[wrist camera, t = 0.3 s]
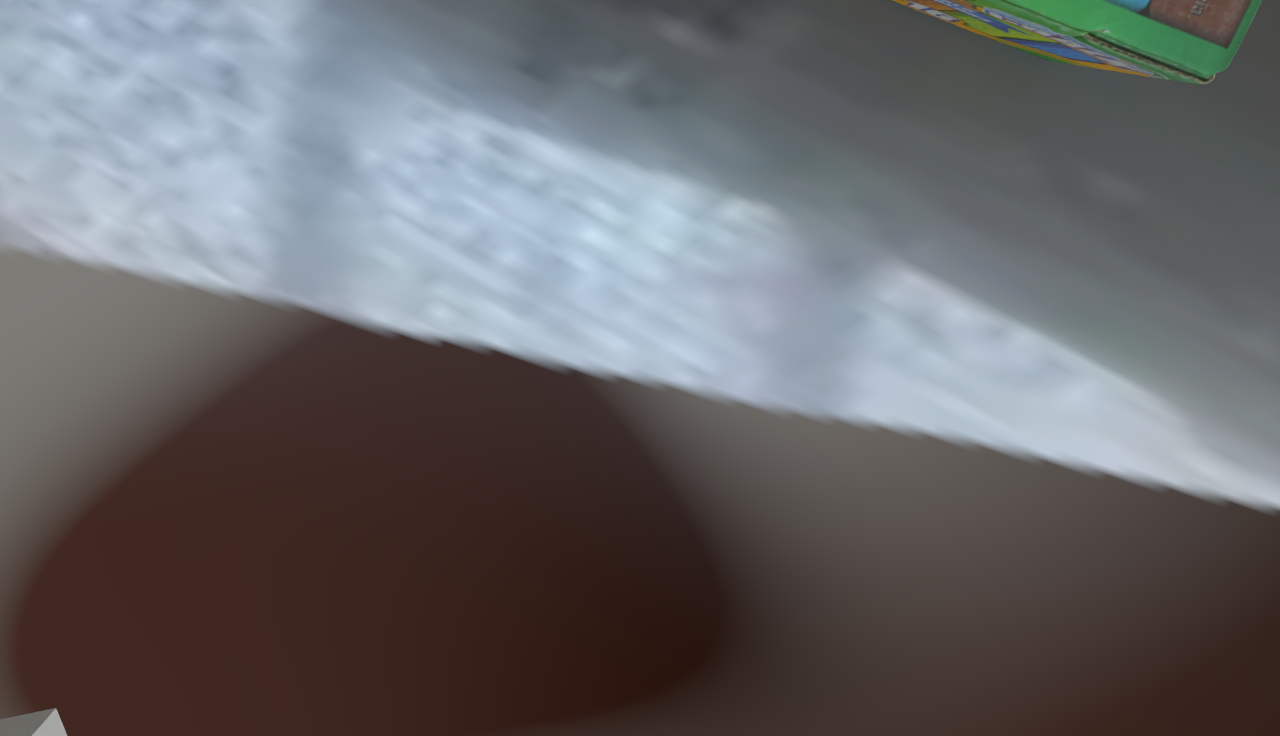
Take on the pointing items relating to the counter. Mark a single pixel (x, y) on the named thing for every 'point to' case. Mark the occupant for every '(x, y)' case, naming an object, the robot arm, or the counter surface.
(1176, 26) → the chalk box
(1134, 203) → the counter surface
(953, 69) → the counter surface
